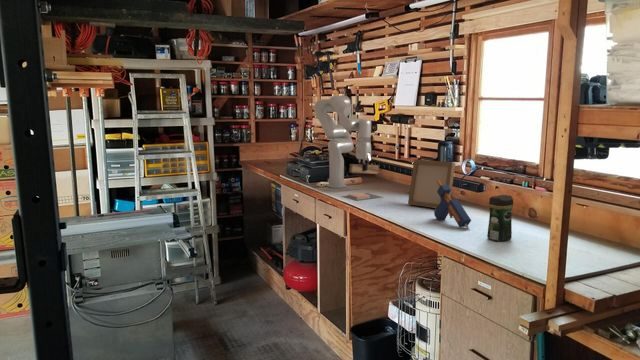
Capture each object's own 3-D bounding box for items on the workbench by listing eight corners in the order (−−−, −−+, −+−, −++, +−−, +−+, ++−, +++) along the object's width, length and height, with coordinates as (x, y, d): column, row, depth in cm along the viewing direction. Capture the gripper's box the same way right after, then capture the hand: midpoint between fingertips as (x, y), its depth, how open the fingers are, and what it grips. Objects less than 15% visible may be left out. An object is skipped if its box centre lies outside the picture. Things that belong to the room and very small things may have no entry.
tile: (360, 195, 294) (348, 196, 290) (360, 192, 294) (348, 194, 289) (369, 197, 287) (357, 199, 282) (369, 195, 287) (357, 196, 282)
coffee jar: (498, 235, 211) (501, 192, 208) (514, 239, 204) (517, 195, 201) (483, 238, 206) (485, 194, 203) (499, 243, 199) (502, 198, 196)
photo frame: (445, 211, 255) (448, 163, 252) (407, 205, 268) (409, 160, 265) (456, 206, 267) (459, 160, 263) (419, 201, 280) (421, 158, 276)
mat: (340, 197, 291) (340, 196, 291) (367, 193, 302) (367, 192, 301) (356, 202, 278) (356, 201, 278) (384, 198, 288) (384, 197, 288)
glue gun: (454, 248, 226) (468, 227, 216) (421, 200, 245) (432, 178, 235) (465, 246, 229) (479, 225, 219) (430, 198, 248) (442, 177, 237)
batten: (349, 172, 299) (350, 164, 298) (374, 172, 309) (375, 164, 309) (352, 173, 296) (352, 164, 295) (377, 173, 307) (378, 165, 306)
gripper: (351, 138, 303) (350, 168, 307) (367, 141, 290) (366, 172, 293) (361, 138, 307) (360, 167, 311) (377, 141, 294) (376, 171, 297)
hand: (363, 169), depth 302 cm, fingers closed on batten, 3 cm apart
